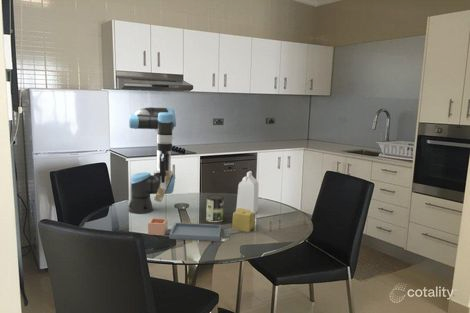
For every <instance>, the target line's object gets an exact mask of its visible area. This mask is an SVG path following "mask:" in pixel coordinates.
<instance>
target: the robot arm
mask: <svg viewBox="0 0 470 313" xmlns="http://www.w3.org/2000/svg"><path fill="white" fill-rule="evenodd" d="M176 120H177V119H176V113H175V110H174V108H170V107H144V108H140V109H138V110H136V112H135V113H134V114H133V113H132V114H131V113H130V115H129V118H128V127H129V128H130V129H133V130H134V129H135V130H138V129H141V130H155V131H156V136H157V137H156V140H157V141H156V170H155V171H154V172H153V175H152V174H151V173H150V172H145V171H144V172H139V173H135V174H133V175H132V176H131V178H130V200H129V203H128V207H127V211H128V213H132V214H136V215H137V214H138V215H139V214H148V213H151V212H152V211H153V210H154V206H153V202H152V199H151V195H156V194H157V191H158V188H159V186H160V188H161V189H166V171H169V172H171V173H173V174H172V176H171V179H170V181H169V184H168V186H167V189H166V191H165V194H164V195H170V194H172V193H173V192H174V188H175V182H176V181H175V180H176V175H174V172H173V171H172V169H171V164H172V163H171V161H172V160H171V158H172V156H171V155H172V154H171V153H172V151H173V144H172V143H173V139H174V136H173V131H174V128H175V127H176V125H177V122H176ZM160 183H161V184H160Z"/></svg>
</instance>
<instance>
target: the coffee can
mask: <svg viewBox="0 0 470 313" xmlns="http://www.w3.org/2000/svg"><path fill="white" fill-rule="evenodd" d="M224 201H225V196H224V195H221V194H207V195H206V213H205V214H206V215H205V220H206V221H207V222H210V223H221V222H222V221H224Z"/></svg>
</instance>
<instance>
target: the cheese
mask: <svg viewBox="0 0 470 313" xmlns="http://www.w3.org/2000/svg"><path fill="white" fill-rule="evenodd" d="M255 218H256V216H255V214H253V212H251V211H250V210H246V209H242V208H238V209H237V210H236V209H235V211H234V212H233V213H232V228H231V229H232V230H234V231H238V232H244V233H245V232H246V233H250V231H252V229H254V228H255V225H256V222H255Z"/></svg>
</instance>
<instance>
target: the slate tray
mask: <svg viewBox="0 0 470 313" xmlns="http://www.w3.org/2000/svg"><path fill="white" fill-rule="evenodd" d="M173 224H174V225H173V226H172V228H171V230H170V232H169V234H168V235H169V236H168V239H169V240H170V239H171V240H184V241H186V240H188V241H204V240H207V241H209V242H220V241H221V240H220V239H221V233H222V224H215V223H214V224H212V223H210V224H209V223H207V224H206V223H193V222H174V223H173ZM207 241H206V242H207Z"/></svg>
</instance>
